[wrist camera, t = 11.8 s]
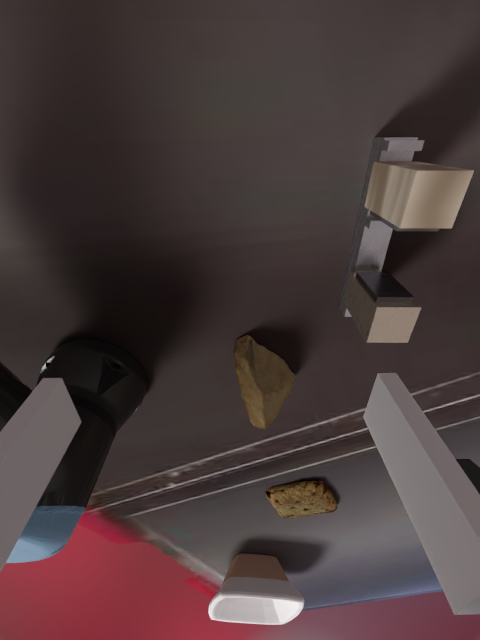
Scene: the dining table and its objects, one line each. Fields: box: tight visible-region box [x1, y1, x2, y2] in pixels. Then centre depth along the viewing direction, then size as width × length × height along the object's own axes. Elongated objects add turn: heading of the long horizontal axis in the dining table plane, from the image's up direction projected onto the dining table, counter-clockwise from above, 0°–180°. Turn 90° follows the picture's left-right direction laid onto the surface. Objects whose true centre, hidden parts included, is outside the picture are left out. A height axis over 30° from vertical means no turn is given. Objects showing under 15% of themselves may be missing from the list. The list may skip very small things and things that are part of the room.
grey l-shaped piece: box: [339, 137, 425, 343], centre depth 29 cm, size 19×4×10 cm, turn 0°
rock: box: [234, 335, 295, 429], centre depth 41 cm, size 11×9×10 cm
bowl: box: [209, 554, 304, 624], centre depth 82 cm, size 24×25×11 cm
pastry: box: [265, 481, 337, 518], centre depth 65 cm, size 17×17×3 cm
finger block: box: [364, 162, 474, 231], centre depth 25 cm, size 4×4×8 cm
